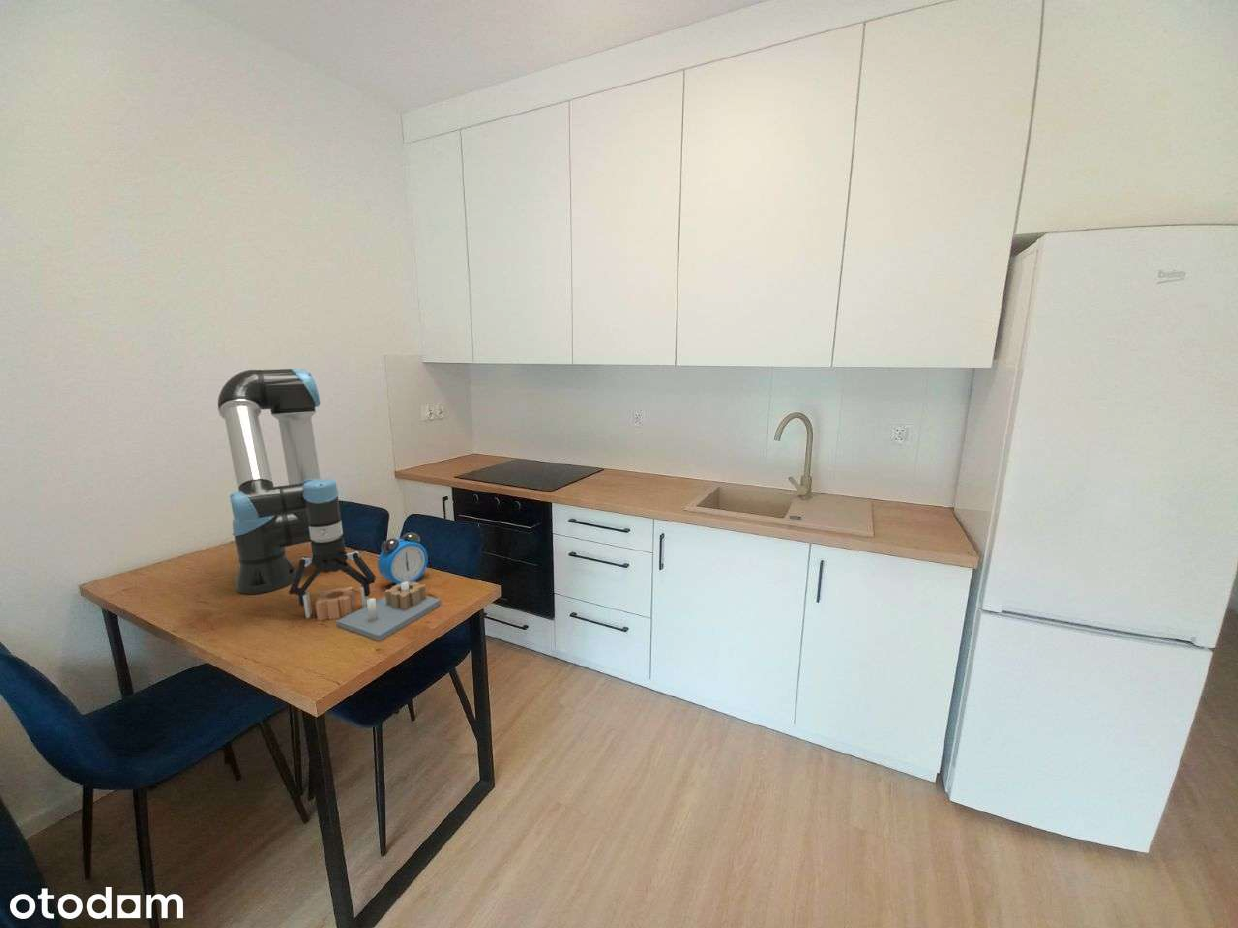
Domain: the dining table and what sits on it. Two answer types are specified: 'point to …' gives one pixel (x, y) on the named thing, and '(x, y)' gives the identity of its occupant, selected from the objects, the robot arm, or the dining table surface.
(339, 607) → the loose gear
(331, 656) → the dining table surface
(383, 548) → the alarm clock
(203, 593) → the dining table surface
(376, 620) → the gear board
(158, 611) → the dining table surface
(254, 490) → the robot arm
